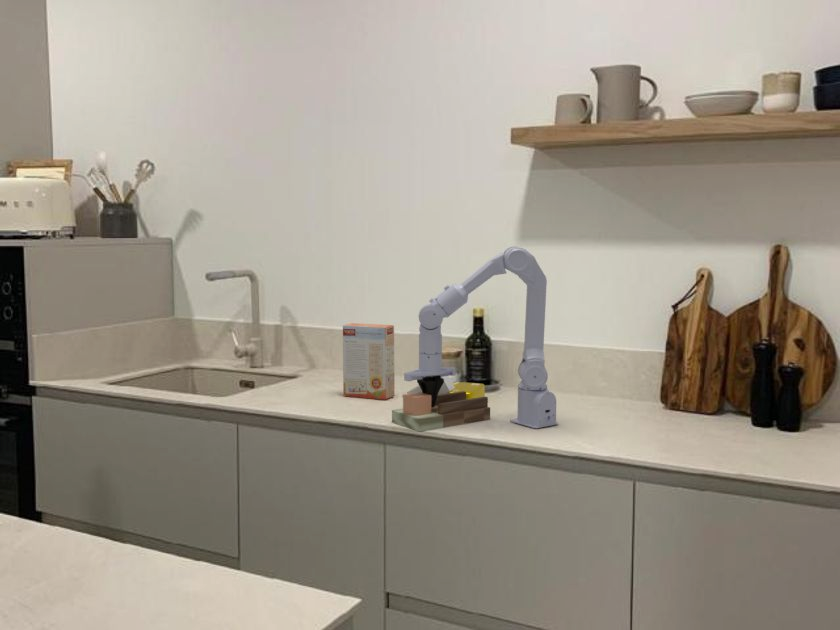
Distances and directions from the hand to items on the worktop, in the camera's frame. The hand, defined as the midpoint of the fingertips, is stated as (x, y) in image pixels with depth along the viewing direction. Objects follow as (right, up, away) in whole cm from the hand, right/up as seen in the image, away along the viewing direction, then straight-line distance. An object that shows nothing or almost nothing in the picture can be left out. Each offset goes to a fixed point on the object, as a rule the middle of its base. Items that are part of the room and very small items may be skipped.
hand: (430, 406), depth 208 cm
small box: (-4, 0, +15) cm, 16 cm away
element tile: (+7, -2, +28) cm, 28 cm away
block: (-3, -1, -2) cm, 4 cm away
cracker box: (-17, -1, +32) cm, 37 cm away
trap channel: (+2, -4, +2) cm, 5 cm away
